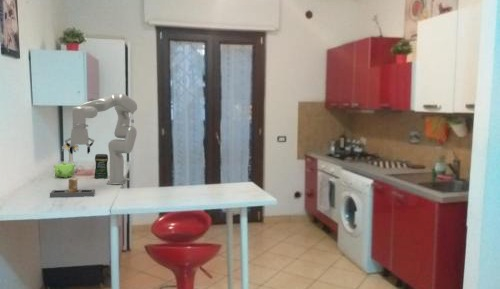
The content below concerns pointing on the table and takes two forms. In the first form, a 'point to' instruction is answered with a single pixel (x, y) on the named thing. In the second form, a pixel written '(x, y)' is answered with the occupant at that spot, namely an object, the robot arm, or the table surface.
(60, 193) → the dark grey divided tray
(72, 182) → the oak peg
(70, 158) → the flower vase
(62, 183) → the table surface
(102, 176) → the coffee jar
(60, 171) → the green lumpy round mass
